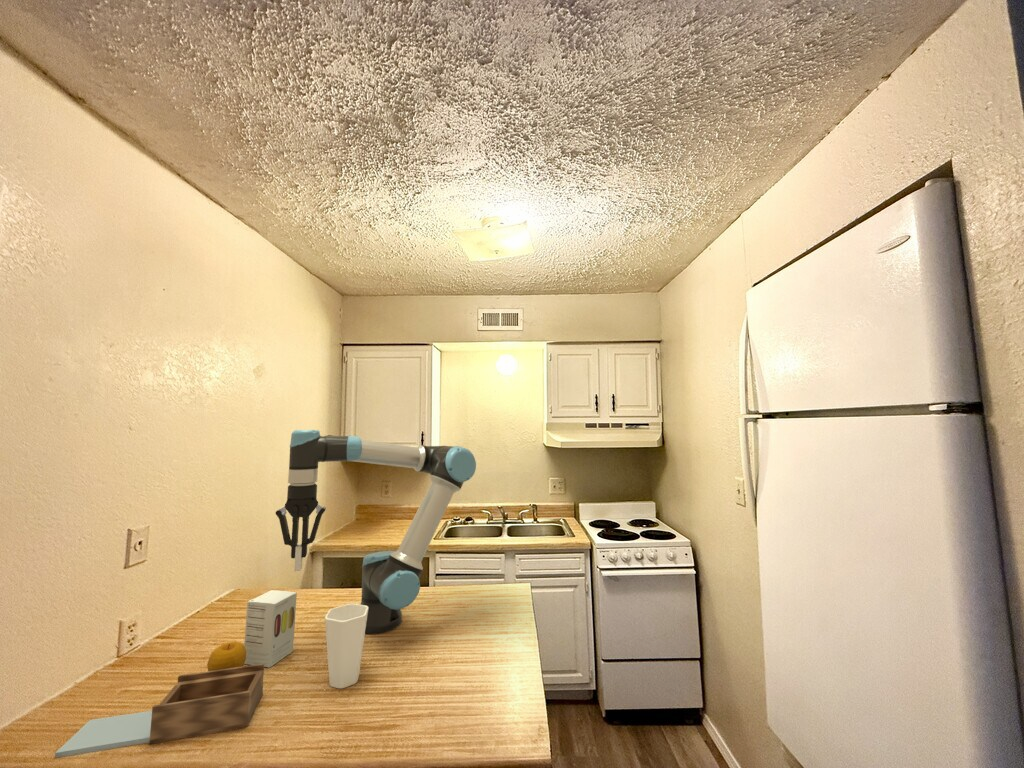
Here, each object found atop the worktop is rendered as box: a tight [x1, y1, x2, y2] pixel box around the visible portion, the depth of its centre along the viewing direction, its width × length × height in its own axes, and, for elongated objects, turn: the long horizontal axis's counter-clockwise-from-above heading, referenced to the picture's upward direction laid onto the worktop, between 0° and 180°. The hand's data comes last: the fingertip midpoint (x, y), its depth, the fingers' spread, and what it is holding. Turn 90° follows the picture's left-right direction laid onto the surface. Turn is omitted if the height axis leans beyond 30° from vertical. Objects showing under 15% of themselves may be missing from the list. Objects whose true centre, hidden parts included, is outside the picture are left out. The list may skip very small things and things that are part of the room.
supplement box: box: [243, 589, 298, 668], centre depth 122 cm, size 10×9×17 cm
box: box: [148, 664, 265, 745], centre depth 96 cm, size 18×12×7 cm, turn 107°
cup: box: [324, 603, 369, 689], centre depth 111 cm, size 11×10×17 cm
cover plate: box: [54, 710, 152, 759], centre depth 91 cm, size 16×10×2 cm, turn 105°
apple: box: [206, 641, 246, 671], centre depth 111 cm, size 9×8×9 cm
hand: (298, 569), depth 117 cm, fingers closed
